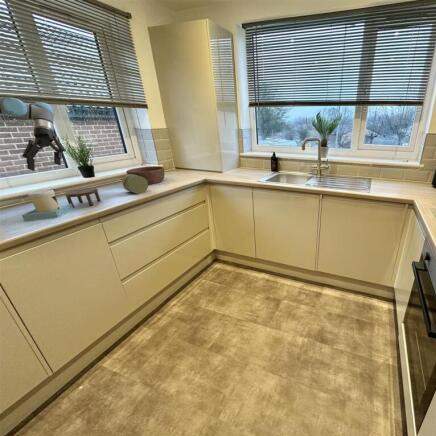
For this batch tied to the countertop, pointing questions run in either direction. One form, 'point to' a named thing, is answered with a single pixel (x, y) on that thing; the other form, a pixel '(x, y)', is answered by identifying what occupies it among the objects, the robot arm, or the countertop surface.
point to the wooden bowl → (149, 173)
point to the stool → (82, 192)
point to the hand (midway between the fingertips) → (44, 166)
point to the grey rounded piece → (134, 183)
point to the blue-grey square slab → (46, 213)
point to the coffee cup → (44, 200)
